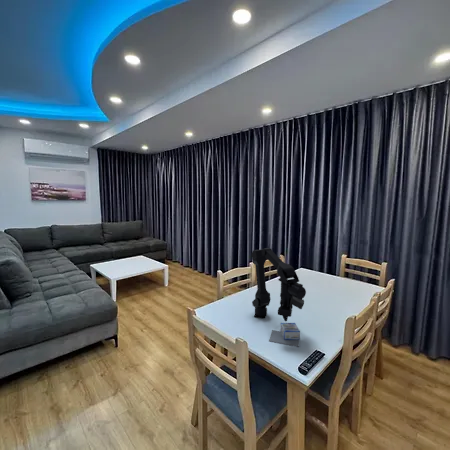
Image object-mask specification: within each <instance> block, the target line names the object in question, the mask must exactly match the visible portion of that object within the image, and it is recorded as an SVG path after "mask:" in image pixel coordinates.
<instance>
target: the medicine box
mask: <svg viewBox="0 0 450 450" xmlns="http://www.w3.org/2000/svg"><path fill="white" fill-rule="evenodd" d="M279 331H281V333H282V335H283V338H284V340H299V341H300V340H301V330H300V329H299V327H298V325H297V323H296V322H281V323H280V330H279Z"/></svg>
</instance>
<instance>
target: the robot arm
mask: <svg viewBox="0 0 450 450" xmlns="http://www.w3.org/2000/svg"><path fill="white" fill-rule="evenodd" d="M250 255H251V260H252V262H253V264H254V265H255V274H256V287H257V288H256V289H257V290H256V292H255V296H254V297H255V298H254V299H253V300H252V302H251V303H252V306H253V307H254V314H253V315H254V316H253V317H254V318H258V319H266V317H267V316H268V308H267V307H269V306H270V303H271V300H272V299H271V293H270V292H269V291H268V290H267V285H266V271H265V263H266V262H267V260H268V261H269V262H270V264H272V266H273V267H274V269H276V274H277V275H278V276H279V278H278V279H277V281H278V282H280V293H279V297H280V301H279V305H280V306H279V307H278V309H277V315H279V316H282V318H283V321H284V322H288V318H289V317H292V313H293V306H294V307H296V308H297V309H299V310H302V309H303V307H304V304H305V300H304V298H305V296H306V294H307V290H306V288H305V287H304V286H303V284H302V283H299V282H300V279H299V276H298V275H297V272H296V270H295V268H294V267H293V266H292V265H290V264H289V263H286V262H285V261H283V260H282V259H281V258H280V257H279V256H278V255H277V254H276V253H275V252H274V251H273V250H272V248H269V247H266V248H262V249H254V250H252V252H251V254H250Z"/></svg>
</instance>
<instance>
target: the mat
mask: <svg viewBox="0 0 450 450" xmlns="http://www.w3.org/2000/svg"><path fill="white" fill-rule="evenodd" d="M268 342H271V343H277V344H280V345H286V346H292V347H297V348H300V340H284V338H283V335H282V333H281V331H280V330H275V329H272V330H271V333H270V336H269V339H268Z"/></svg>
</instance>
